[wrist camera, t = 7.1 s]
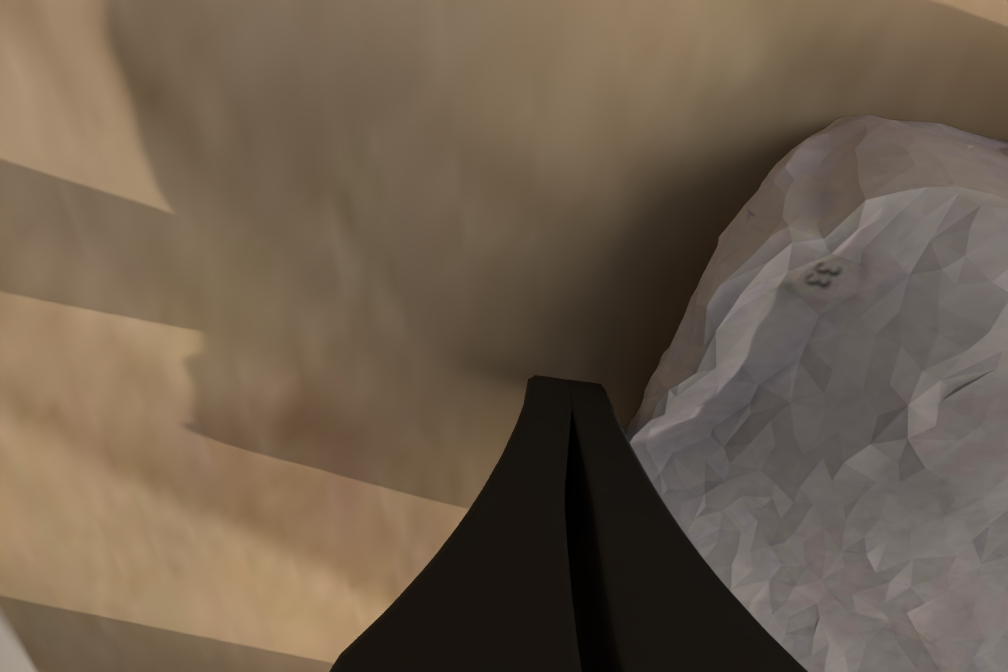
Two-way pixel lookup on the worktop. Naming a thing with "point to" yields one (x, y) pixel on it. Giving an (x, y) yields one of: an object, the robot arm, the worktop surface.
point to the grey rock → (852, 402)
